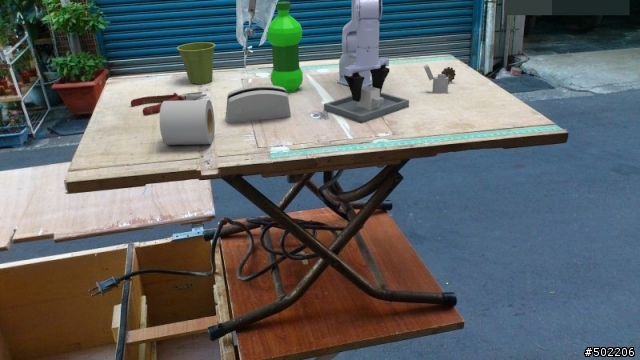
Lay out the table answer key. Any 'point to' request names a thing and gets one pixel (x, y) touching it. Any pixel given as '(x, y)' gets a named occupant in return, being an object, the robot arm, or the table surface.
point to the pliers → (161, 99)
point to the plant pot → (198, 61)
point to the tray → (352, 111)
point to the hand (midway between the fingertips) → (366, 97)
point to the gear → (449, 73)
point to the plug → (370, 98)
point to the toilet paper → (187, 122)
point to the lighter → (438, 81)
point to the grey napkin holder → (257, 103)
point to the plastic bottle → (285, 49)
